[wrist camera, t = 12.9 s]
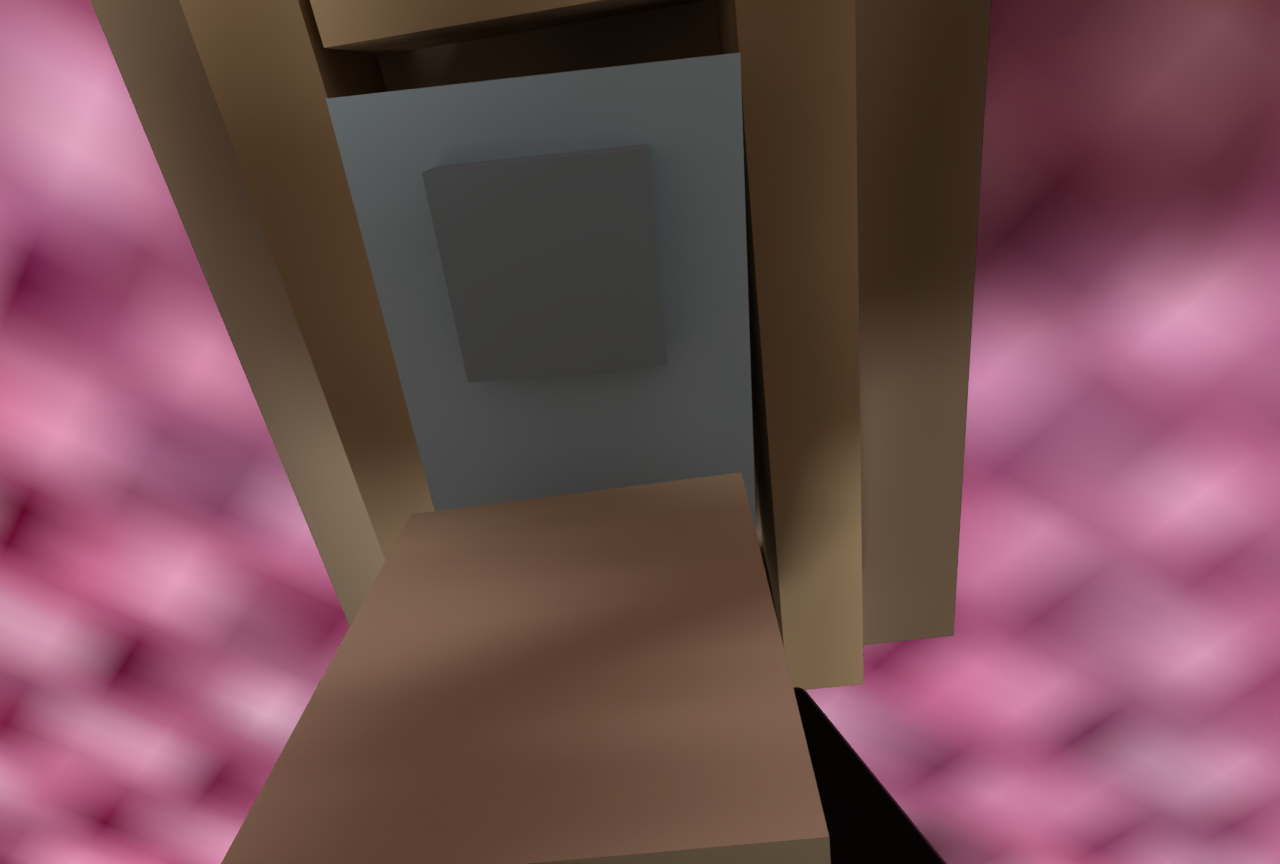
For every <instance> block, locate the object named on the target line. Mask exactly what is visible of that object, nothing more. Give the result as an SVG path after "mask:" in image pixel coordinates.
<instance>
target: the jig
mask: <svg viewBox="0 0 1280 864" xmlns="http://www.w3.org/2000/svg"><path fill="white" fill-rule="evenodd" d="M91 3H92V5H93V7H94V10H95V12H96V15H97V17H98V20H99V22H100V24H101V27H102V29H103V32H104V34H105V36H106V39H107V41H108V44H109V46H110V49H111V51H112V53H113V56H114V58H115V61H116V63H117V65H118V68H119V70H120V73H121V75H122V78H123V80H124V82H125V85H126V87H127V90H128V92H129V94H130V97H131V99H132V102H133V104H134V106H135V109H136V111H137V114H138V116H139V119H140V121H141V123H142V126H143V128H144V131H145V133H146V135H147V138H148V140H149V143H150V145H151V148H152V150H153V152H154V155H155V157H156V160H157V162H158V164H159V167H160V169H161V172H162V174H163V177H164V179H165V181H166V184H167V186H168V189H169V191H170V193H171V196H172V198H173V201H174V203H175V206H176V208H177V210H178V213H179V215H180V218H181V220H182V222H183V225H184V227H185V230H186V232H187V234H188V237H189V239H190V242H191V244H192V247H193V249H194V251H195V254H196V256H197V259H198V261H199V263H200V266H201V268H202V271H203V273H204V276H205V278H206V280H207V283H208V285H209V288H210V290H211V292H212V295H213V297H214V300H215V302H216V305H217V307H218V309H219V312H220V314H221V317H222V319H223V321H224V324H225V326H226V329H227V331H228V334H229V336H230V338H231V341H232V343H233V346H234V348H235V350H236V353H237V355H238V358H239V360H240V362H241V365H242V367H243V370H244V372H245V375H246V377H247V379H248V382H249V384H250V387H251V389H252V391H253V394H254V396H255V399H256V401H257V404H258V406H259V408H260V411H261V413H262V416H263V418H264V420H265V423H266V425H267V428H268V430H269V433H270V435H271V437H272V440H273V442H274V445H275V447H276V449H277V452H278V454H279V457H280V459H281V462H282V464H283V466H284V469H285V471H286V474H287V476H288V478H289V481H290V483H291V486H292V488H293V490H294V493H295V495H296V498H297V500H298V503H299V505H300V507H301V510H302V512H303V515H304V517H305V519H306V522H307V524H308V527H309V529H310V532H311V534H312V536H313V539H314V541H315V544H316V546H317V548H318V551H319V553H320V556H321V558H322V561H323V563H324V565H325V568H326V570H327V573H328V575H329V577H330V580H331V582H332V585H333V587H334V590H335V592H336V594H337V597H338V599H339V602H340V604H341V606H342V609H343V611H344V614H345V616H346V618H347V621H348V623H349V626H351V624H352V622H353V620H354V618H355V617H356V615H357V613H358V611H359V609H360V607H361V606H362V604H363V602H364V600H365V598H366V596H367V595H368V593H369V591H370V589H371V587H372V585H373V584H374V582H375V580H376V578H377V576H378V574H379V573H380V571H381V569H382V567H383V565H384V563H385V561H386V560H387V558H388V556H389V554H390V552H391V550H392V549H393V547H394V545H395V543H396V541H397V539H398V538H399V536H400V534H401V532H402V530H403V528H404V527H405V525H406V523H407V521H408V519H409V517H410V516H411V514H416V513H424V512H432V511H434V507H433V503H432V499H431V496H430V492H429V488H428V484H427V481H426V477H425V473H424V469H423V465H422V462H421V458H420V454H419V450H418V446H417V443H416V439H415V435H414V431H413V427H412V424H411V420H410V416H409V412H408V409H407V405H406V401H405V397H404V393H403V390H402V386H401V382H400V378H399V374H398V371H397V367H396V363H395V359H394V356H393V352H392V348H391V344H390V340H389V337H388V333H387V329H386V325H385V321H384V318H383V314H382V310H381V306H380V302H379V299H378V295H377V291H376V287H375V284H374V280H373V276H372V272H371V268H370V265H369V261H368V257H367V253H366V249H365V246H364V242H363V238H362V234H361V230H360V227H359V223H358V219H357V215H356V212H355V208H354V204H353V200H352V196H351V193H350V189H349V185H348V181H347V177H346V174H345V170H344V166H343V162H342V158H341V155H340V151H339V147H338V143H337V140H336V136H335V132H334V128H333V124H332V121H331V117H330V113H329V109H328V105H327V102H326V99H327V98H336V97H345V96H354V95H363V94H372V93H381V92H390V91H399V90H408V89H417V88H426V87H435V86H444V85H453V84H462V83H471V82H480V81H489V80H498V79H507V78H516V77H525V76H534V75H543V74H552V73H561V72H570V71H579V70H588V69H596V68H605V67H614V66H623V65H632V64H641V63H650V62H659V61H668V60H677V59H686V58H695V57H704V56H713V55H722V54H731V53H740V59H741V89H742V119H743V149H744V179H745V209H746V240H747V270H748V300H749V330H750V360H751V390H752V420H753V451H754V481H755V511H756V535H757V539H758V543H759V548H760V552H761V556H762V560H763V564H764V568H765V572H766V577H767V581H768V585H769V589H770V593H771V597H772V601H773V606H774V610H775V614H776V618H777V622H778V626H779V630H780V635H781V639H782V643H783V647H784V651H785V655H786V659H787V664H788V668H789V672H790V676H791V680H792V684H793V687H800V688H802V689H804V690H808V689H818V688H828V687H838V686H848V685H858V684H863V645H868V644H878V643H887V642H897V641H907V640H916V639H926V638H935V637H945V636H953V634H954V617H955V600H956V583H957V566H958V550H959V533H960V516H961V499H962V482H963V465H964V448H965V431H966V414H967V397H968V380H969V363H970V346H971V329H972V313H973V296H974V279H975V262H976V245H977V228H978V211H979V194H980V177H981V160H982V143H983V126H984V109H985V93H986V76H987V59H988V42H989V25H990V8H991V0H91Z"/></svg>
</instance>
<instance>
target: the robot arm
mask: <svg viewBox="0 0 1280 864" xmlns="http://www.w3.org/2000/svg"><path fill="white" fill-rule="evenodd" d="M793 688H794V693H795V697H796V701H797V705H798V709H799V713H800V717H801V722H802V726H803V730H804V734H805V738H806V742H807V746H808V751H809V755H810V759H811V763H812V767H813V771H814V775H815V780H816V784H817V788H818V792H819V796H820V800H821V804H822V809H823V813H824V817H825V821H826V825H827V829H828V833H829V840H830V858H831V864H947V863H946V862H945V861H944V860H943V859H942V857H941V856H940V855H939V854H938V852H937V851H936V850H935V849H934V848H933V846H932V845H931V844H930V843H929V841H928V840H927V839H926V838H925V836H924V835H923V834H922V833H921V832H920V830H919V829H918V828H917V827H916V825H915V824H914V823H913V822H912V821H911V819H910V818H909V817H908V816H907V814H906V813H905V812H904V811H903V809H902V808H901V807H900V806H899V805H898V803H897V802H896V801H895V800H894V798H893V797H892V796H891V795H890V794H889V792H888V791H887V790H886V789H885V787H884V786H883V785H882V784H881V783H880V781H879V780H878V779H877V778H876V776H875V775H874V774H873V773H872V771H871V770H870V769H869V768H868V767H867V765H866V764H865V763H864V762H863V760H862V759H861V758H860V757H859V756H858V754H857V753H856V752H855V751H854V749H853V748H852V747H851V746H850V744H849V743H848V742H847V741H846V740H845V738H844V737H843V736H842V735H841V733H840V732H839V731H838V730H837V729H836V727H835V726H834V725H833V724H832V722H831V721H830V720H829V719H828V717H827V716H826V715H825V714H824V713H823V711H822V710H821V709H820V708H819V706H818V705H817V704H816V703H815V702H814V700H813V699H812V698H811V697H810V695H809V694H808V693H807V692H806V691H805V690H804V689H802V688H800V687H793Z"/></svg>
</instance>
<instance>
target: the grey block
mask: <svg viewBox="0 0 1280 864" xmlns="http://www.w3.org/2000/svg"><path fill="white" fill-rule="evenodd" d="M326 102H327V105H328V109H329V113H330V117H331V121H332V124H333V128H334V132H335V136H336V140H337V143H338V147H339V151H340V155H341V158H342V162H343V166H344V170H345V174H346V177H347V181H348V185H349V189H350V193H351V196H352V200H353V204H354V208H355V212H356V215H357V219H358V223H359V227H360V230H361V234H362V238H363V242H364V246H365V249H366V253H367V257H368V261H369V265H370V268H371V272H372V276H373V280H374V284H375V287H376V291H377V295H378V299H379V302H380V306H381V310H382V314H383V318H384V321H385V325H386V329H387V333H388V337H389V340H390V344H391V348H392V352H393V356H394V359H395V363H396V367H397V371H398V374H399V378H400V382H401V386H402V390H403V393H404V397H405V401H406V405H407V409H408V412H409V416H410V420H411V424H412V427H413V431H414V435H415V439H416V443H417V446H418V450H419V454H420V458H421V462H422V465H423V469H424V473H425V477H426V481H427V484H428V488H429V492H430V496H431V499H432V503H433V507H434V511H440V510H448V509H456V508H463V507H471V506H479V505H487V504H495V503H503V502H511V501H519V500H526V499H534V498H542V497H550V496H558V495H566V494H574V493H582V492H590V491H597V490H605V489H613V488H621V487H629V486H637V485H645V484H653V483H660V482H668V481H676V480H684V479H692V478H700V477H708V476H716V475H723V474H731V473H739V472H741V473H742V477H743V481H744V485H745V490H746V494H747V498H748V502H749V506H750V510H751V514H752V519H753V523H754V527H755V531H756V511H755V481H754V451H753V420H752V390H751V360H750V330H749V300H748V270H747V240H746V209H745V179H744V149H743V119H742V89H741V59H740V53H731V54H722V55H713V56H704V57H695V58H686V59H677V60H668V61H659V62H650V63H641V64H632V65H623V66H614V67H605V68H596V69H588V70H579V71H570V72H561V73H552V74H543V75H534V76H525V77H516V78H507V79H498V80H489V81H480V82H471V83H462V84H453V85H444V86H435V87H426V88H417V89H408V90H399V91H390V92H381V93H372V94H363V95H354V96H345V97H336V98H327V99H326Z"/></svg>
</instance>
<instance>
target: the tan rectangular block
mask: <svg viewBox="0 0 1280 864" xmlns="http://www.w3.org/2000/svg"><path fill="white" fill-rule="evenodd" d="M221 864H831V858H830V840H829V833H828V829H827V825H826V821H825V817H824V813H823V809H822V804H821V800H820V796H819V792H818V788H817V784H816V780H815V775H814V771H813V767H812V763H811V759H810V755H809V751H808V746H807V742H806V738H805V734H804V730H803V726H802V722H801V717H800V713H799V709H798V705H797V701H796V697H795V693H794V688H793V684H792V680H791V676H790V672H789V668H788V664H787V659H786V655H785V651H784V647H783V643H782V639H781V635H780V630H779V626H778V622H777V618H776V614H775V610H774V606H773V601H772V597H771V593H770V589H769V585H768V581H767V577H766V572H765V568H764V564H763V560H762V556H761V552H760V548H759V543H758V539H757V535H756V531H755V527H754V523H753V519H752V514H751V510H750V506H749V502H748V498H747V494H746V490H745V485H744V481H743V477H742V473H741V472H739V473H731V474H723V475H716V476H708V477H700V478H692V479H684V480H676V481H668V482H660V483H653V484H645V485H637V486H629V487H621V488H613V489H605V490H597V491H590V492H582V493H574V494H566V495H558V496H550V497H542V498H534V499H526V500H519V501H511V502H503V503H495V504H487V505H479V506H471V507H463V508H456V509H448V510H440V511H432V512H424V513H416V514H411V516H410V517H409V519H408V521H407V523H406V525H405V527H404V528H403V530H402V532H401V534H400V536H399V538H398V539H397V541H396V543H395V545H394V547H393V549H392V550H391V552H390V554H389V556H388V558H387V560H386V561H385V563H384V565H383V567H382V569H381V571H380V573H379V574H378V576H377V578H376V580H375V582H374V584H373V585H372V587H371V589H370V591H369V593H368V595H367V596H366V598H365V600H364V602H363V604H362V606H361V607H360V609H359V611H358V613H357V615H356V617H355V618H354V620H353V622H352V624H351V626H350V628H349V630H348V631H347V633H346V635H345V637H344V639H343V641H342V642H341V644H340V646H339V648H338V650H337V652H336V653H335V655H334V657H333V659H332V661H331V663H330V664H329V666H328V668H327V670H326V672H325V674H324V675H323V677H322V679H321V681H320V683H319V685H318V687H317V688H316V690H315V692H314V694H313V696H312V698H311V699H310V701H309V703H308V705H307V707H306V709H305V710H304V712H303V714H302V716H301V718H300V720H299V721H298V723H297V725H296V727H295V729H294V731H293V732H292V734H291V736H290V738H289V740H288V742H287V744H286V745H285V747H284V749H283V751H282V753H281V755H280V756H279V758H278V760H277V762H276V764H275V766H274V767H273V769H272V771H271V773H270V775H269V777H268V778H267V780H266V782H265V784H264V786H263V788H262V789H261V791H260V793H259V795H258V797H257V799H256V801H255V802H254V804H253V806H252V808H251V810H250V812H249V813H248V815H247V817H246V819H245V821H244V823H243V824H242V826H241V828H240V830H239V832H238V834H237V835H236V837H235V839H234V841H233V843H232V845H231V847H230V848H229V850H228V852H227V854H226V856H225V858H224V859H223V861H222V863H221Z"/></svg>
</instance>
